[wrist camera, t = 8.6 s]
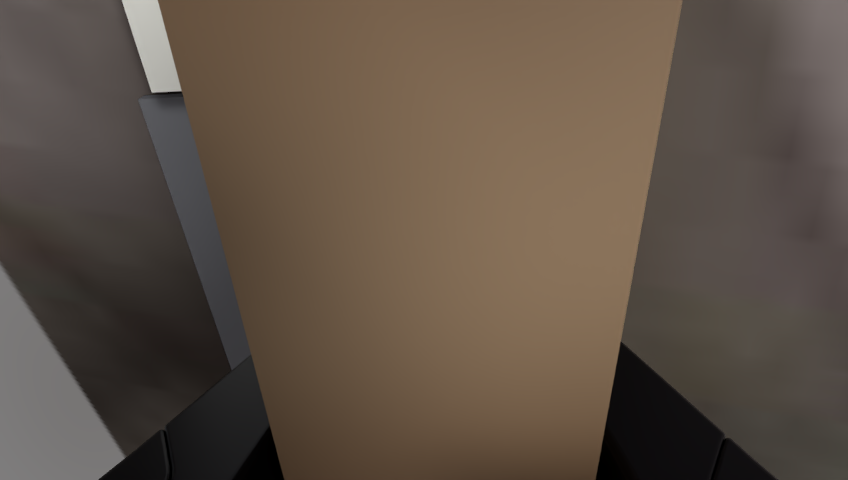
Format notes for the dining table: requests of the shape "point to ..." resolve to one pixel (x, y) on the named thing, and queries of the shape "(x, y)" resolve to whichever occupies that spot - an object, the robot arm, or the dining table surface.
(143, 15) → the tile
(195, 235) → the mat
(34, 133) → the dining table surface
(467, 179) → the tan wooden block
